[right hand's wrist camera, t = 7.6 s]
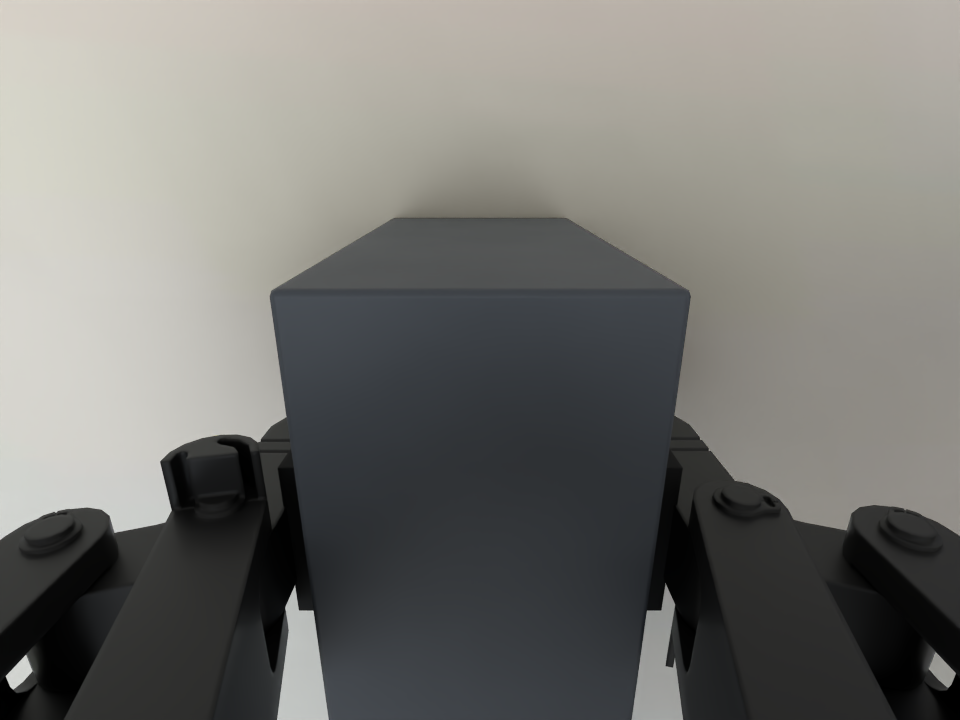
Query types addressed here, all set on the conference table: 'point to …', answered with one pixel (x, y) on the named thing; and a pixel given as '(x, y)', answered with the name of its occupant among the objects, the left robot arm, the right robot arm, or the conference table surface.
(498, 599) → the bar
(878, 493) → the conference table surface
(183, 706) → the right robot arm
